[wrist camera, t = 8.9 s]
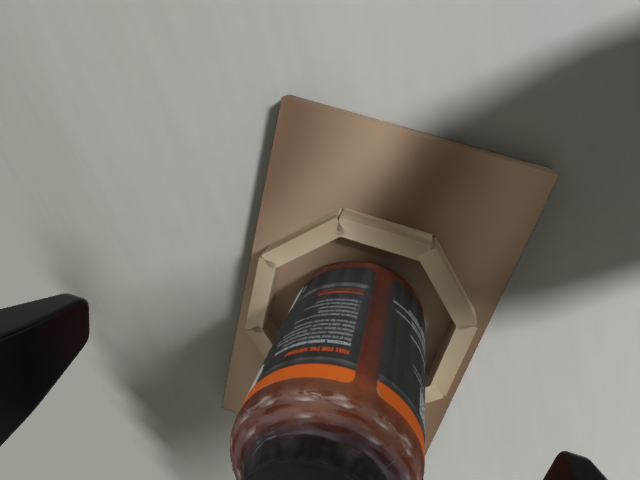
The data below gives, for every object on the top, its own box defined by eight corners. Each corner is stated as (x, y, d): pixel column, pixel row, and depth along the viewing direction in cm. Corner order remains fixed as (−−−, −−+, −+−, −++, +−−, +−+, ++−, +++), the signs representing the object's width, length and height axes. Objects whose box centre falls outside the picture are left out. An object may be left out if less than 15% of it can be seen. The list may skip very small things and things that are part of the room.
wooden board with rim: (552, 169, 18) (568, 183, 16) (415, 461, 25) (414, 496, 23) (288, 94, 19) (272, 100, 17) (228, 395, 26) (212, 423, 24)
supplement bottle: (272, 300, 22) (137, 519, 12) (367, 229, 20) (301, 427, 9) (353, 386, 23) (293, 657, 13) (453, 328, 21) (478, 606, 10)
